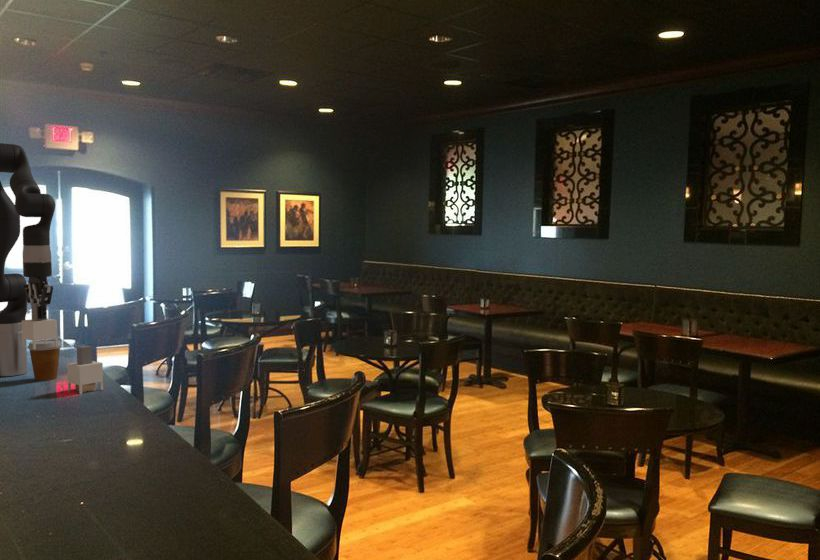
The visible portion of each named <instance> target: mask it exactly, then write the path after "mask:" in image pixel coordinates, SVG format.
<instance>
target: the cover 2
mask: <svg viewBox="0 0 820 560" xmlns="http://www.w3.org/2000/svg"><path fill="white" fill-rule="evenodd" d="M66 367H67V368H66V370H67V371H66V373H67V392H71V391H72V384H73V385H75V384H76V385H79V391H78V393H79V394H80V395H82V394H83V392H82V385H85V384H91V383H99V386H100V389H99V390H101V391H103V390H104V374H103V373H104V371H103V370H104V369H103V367H104V365H103V362H100V361H95V360H93V347H92V345H81V346H76V362H70V363H67V364H66Z"/></svg>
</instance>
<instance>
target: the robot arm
mask: <svg viewBox="0 0 820 560" xmlns="http://www.w3.org/2000/svg"><path fill="white" fill-rule="evenodd" d="M0 173H8V174H11V176H10V178H9V187H10V190H11V191H12V193H13V195H14V197H15V199H14V202H13V200H12V199H11V197H10V196H9V194H8V193H7V192H6V190H5V189H4V187H3V184H2V181H1V180H0V303H7V305H6V306H5V307H4V308H3V309H2V310H0V377H11V376H12V377H13V376H20V375H24V374H25V375H26V374H27V373H28V352H27V350H28V349H27V348H28V346H27V345H26V347H23V343H22V320H26V317H27V312H28V304H29V305H30V306H31V304H34V303H37V305H38V319H46V308H47V307H48V305H50V304H51V303H52V302H51V301H52V296H53V291H54V286H53V285H49V281H48V278H49V277H52V275H53V268H52V251H51V241H50V240H51V239H50V231H51V225H52V221H53V218H54V213H55V212H56V211H55V210H56V201H55V199H54V197H53V196H52V195H50V193H49V194H48V193H41V188H40V187H39V186H38V183H37V182H36V180H35V179H34V177H33V175H32V170H31V166H30V163H29V160H28V156H27V154H26V151H25V150H24V148H23V147H22V146H20V145H17V144H14V143H2V142H0ZM21 217H23V218H40V220H39V221H38V222H37V223H36V224H30V225H26V226H23V228H22V245H23V246H22V270H23V271H22V272H23V273H5V266H6V261H7V258H8V256H9V254H10V252H11V251H12V249H13V247H14V246H15V244H16V243H17V241H18V239H19V238H20V233H21ZM26 278H28V281H27V280H26ZM25 342H26V343H27V340H26V339H25Z"/></svg>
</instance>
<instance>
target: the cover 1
mask: <svg viewBox="0 0 820 560" xmlns="http://www.w3.org/2000/svg"><path fill="white" fill-rule="evenodd" d="M30 309H31V319H25V320H22V343H23V347H26V346H27V341H30V342H32V341H33V349H36V341H38V340H44V344H47V340H55V346H58V340H59V339H58V319H52V318H48V314H47V313H48V312H47V310H48V308H47V307H46V319H38V305H37V303H34V304H31V305H30ZM25 339H26V342H25Z"/></svg>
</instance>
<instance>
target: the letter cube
mask: <svg viewBox="0 0 820 560" xmlns="http://www.w3.org/2000/svg"><path fill="white" fill-rule="evenodd" d="M96 383H97V382H96ZM96 383H91V384H85V385H82V393H87V391H88V392H92V390H93V391H96V390H97V385H96ZM74 385H75V386H74V387H75V388H74V389H75V391H76V392H79V385H76V384H74Z"/></svg>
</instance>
